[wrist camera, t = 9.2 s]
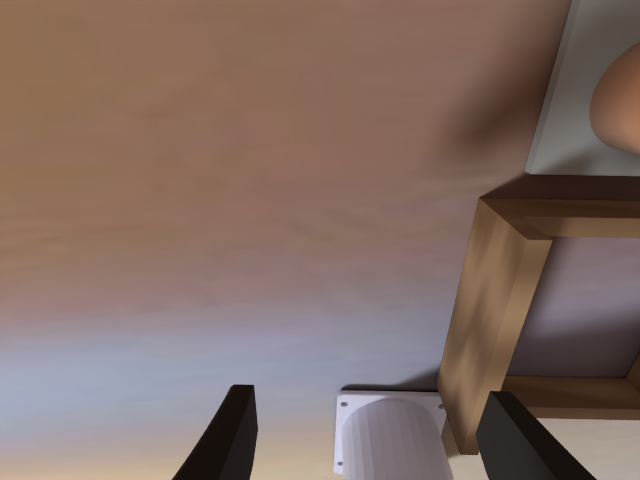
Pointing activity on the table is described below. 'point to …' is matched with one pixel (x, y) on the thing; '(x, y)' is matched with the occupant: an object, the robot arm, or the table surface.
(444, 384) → the frame
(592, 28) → the slate coaster
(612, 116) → the flower pot
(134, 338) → the table surface
